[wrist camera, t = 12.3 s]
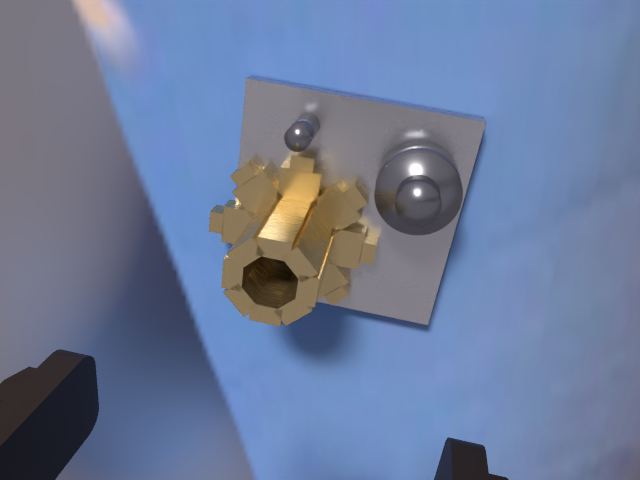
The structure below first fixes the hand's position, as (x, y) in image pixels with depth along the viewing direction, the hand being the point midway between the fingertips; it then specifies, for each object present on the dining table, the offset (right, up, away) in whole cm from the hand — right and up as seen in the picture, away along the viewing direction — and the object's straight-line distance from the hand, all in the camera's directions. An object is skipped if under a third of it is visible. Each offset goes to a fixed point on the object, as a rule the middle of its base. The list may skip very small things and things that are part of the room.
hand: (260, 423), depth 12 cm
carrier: (+3, +6, +23) cm, 24 cm away
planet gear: (0, +5, +23) cm, 23 cm away
